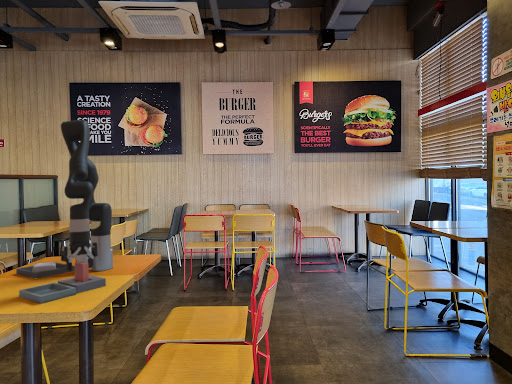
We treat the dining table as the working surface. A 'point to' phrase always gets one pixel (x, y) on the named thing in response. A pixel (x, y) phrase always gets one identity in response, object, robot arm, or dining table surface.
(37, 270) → the charger
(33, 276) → the frame
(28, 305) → the dining table surface
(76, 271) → the pink block
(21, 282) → the dining table surface
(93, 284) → the grey square-hole plate
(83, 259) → the milk bottle
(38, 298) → the tray
